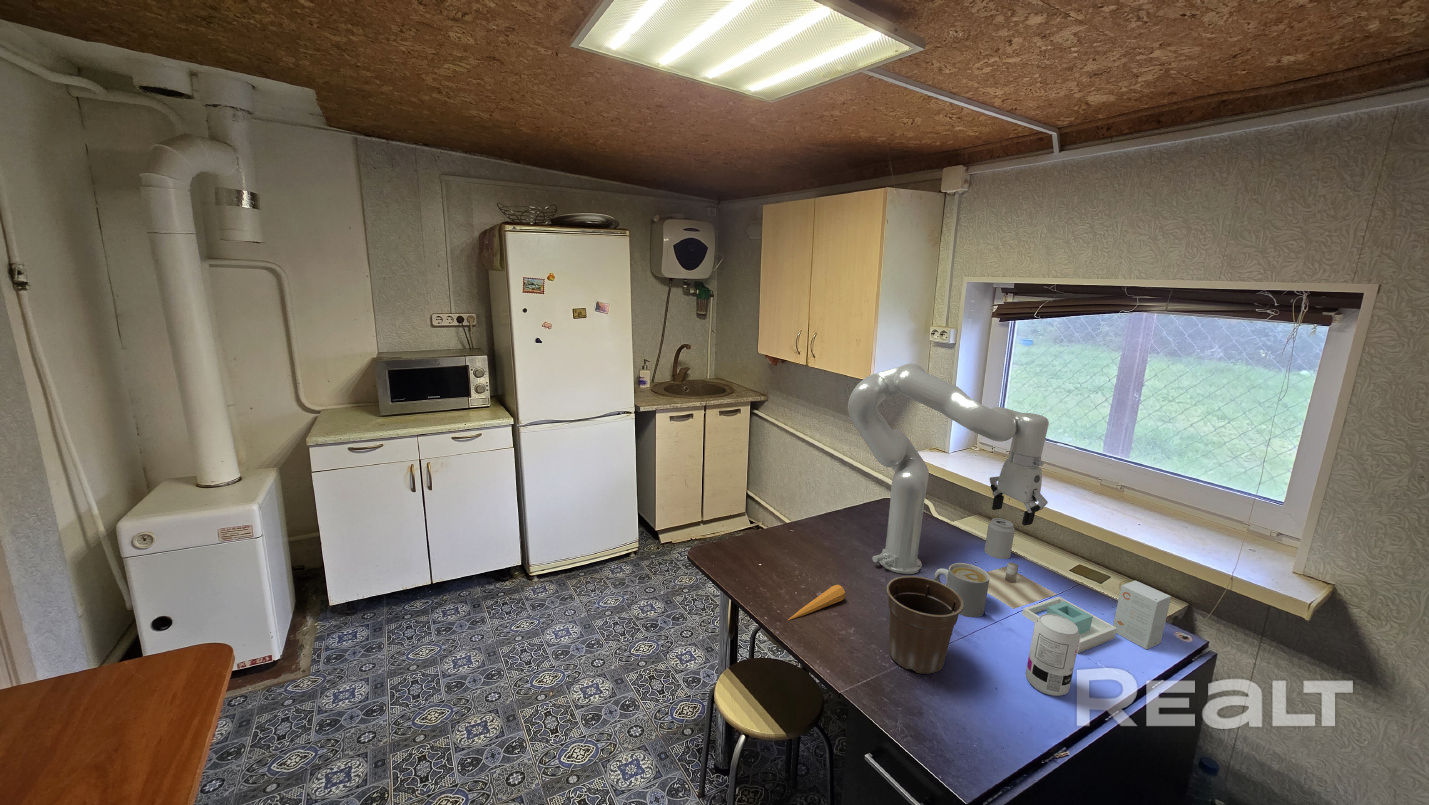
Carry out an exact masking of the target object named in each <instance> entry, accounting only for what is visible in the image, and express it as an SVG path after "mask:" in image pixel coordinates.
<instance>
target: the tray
mask: <svg viewBox="0 0 1429 805" xmlns="http://www.w3.org/2000/svg"><path fill="white" fill-rule="evenodd" d="M1064 601H1066V602H1068V603H1070V604H1071V605H1073V606H1075V607H1077V608H1079V609H1080V610H1082V611H1084V612H1086V613H1088V614H1090V615H1091V616H1093V618H1092V623H1091V627H1090V631H1087V632H1084V633H1082V634H1079V635H1080V641H1079V646H1078V651H1077V655H1078V654H1081V653H1083V652H1085V650H1086V651H1088V650H1090V649H1093V648H1095V647H1098V646H1100V645H1102V644H1105V643H1108V642H1109V641H1110V642H1111V641H1113V640H1115V638H1116V634H1117V633H1116V630H1117V628H1116V627H1114V626H1113V624H1111V623H1108V622H1107V621H1105V620H1103V619H1102V618H1099V617H1098V616H1096V615H1094V614H1092V613H1091V612H1089V611H1087V610H1085V609H1083V608H1082V607H1080V606H1077V605H1075V604H1074V603H1072V602H1070V601H1068V600H1066V599H1064V598H1063V597H1061V596H1057V597H1054V598H1051V599H1048V600H1045V601H1042V602H1039V603H1036V604H1033V605H1030V606H1027V607H1024V608H1022V611H1021V612H1022V613H1021V615H1022V617H1024V618H1026V619H1028V620H1029V621H1031V622H1033V623H1034V624H1035V622H1036V620H1037V619H1039V617H1040V616H1041V615H1040V616H1039V615H1038V614H1037V613H1040V612H1043V611H1044V610H1045V611H1047V608H1048V607H1050V606H1052V605H1055V604H1058V603H1061V602H1064ZM1080 652H1081V653H1080Z"/></svg>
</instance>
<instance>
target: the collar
mask: <svg viewBox="0 0 1429 805" xmlns="http://www.w3.org/2000/svg"><path fill="white" fill-rule="evenodd" d="M1068 602H1069V601H1068ZM1068 602H1066V601H1064V602H1061V603H1058V604H1055V605H1052V606H1050V607H1048V608H1047V609H1046V613H1045V614H1055V615H1059V616H1062V617H1064V618H1066V619H1068V620H1070V621H1071V622H1073V623H1074V624H1075V625H1076V626H1077V628H1078V632H1079V634H1082V633H1084V632H1087V631H1090V627H1091V623H1092V618H1093V616H1091V615H1090V614H1091V613H1090V614H1088V613H1086V612H1084V611H1082V610H1080V609H1079V608H1080V607H1079V608H1077V607H1075V606H1073V605H1071V604H1070V603H1071V602H1070V603H1068Z"/></svg>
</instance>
